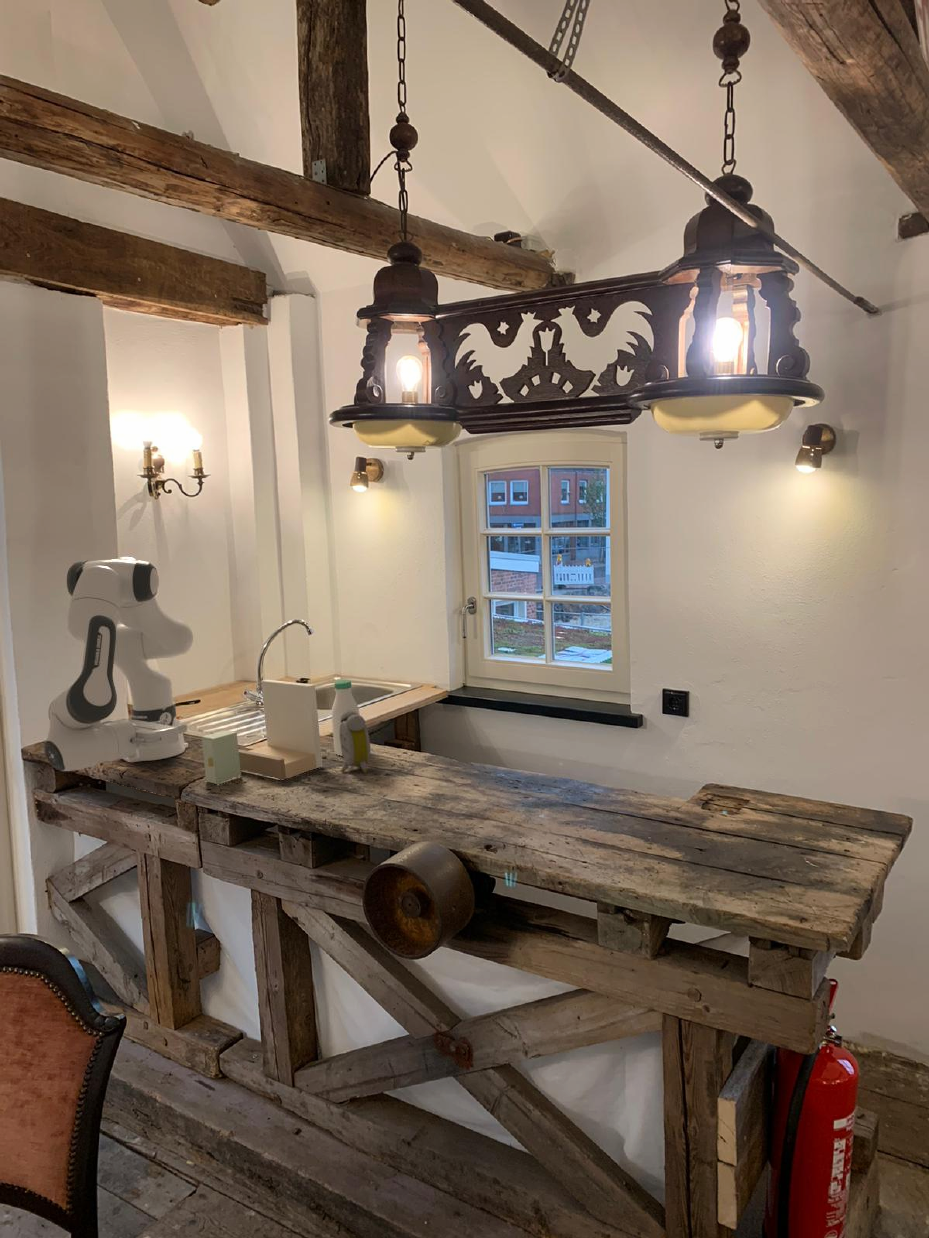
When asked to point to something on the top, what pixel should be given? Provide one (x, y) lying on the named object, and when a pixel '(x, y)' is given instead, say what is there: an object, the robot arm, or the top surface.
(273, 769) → the wall board
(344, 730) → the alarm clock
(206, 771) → the cabinet
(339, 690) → the milk bottle
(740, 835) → the top surface
